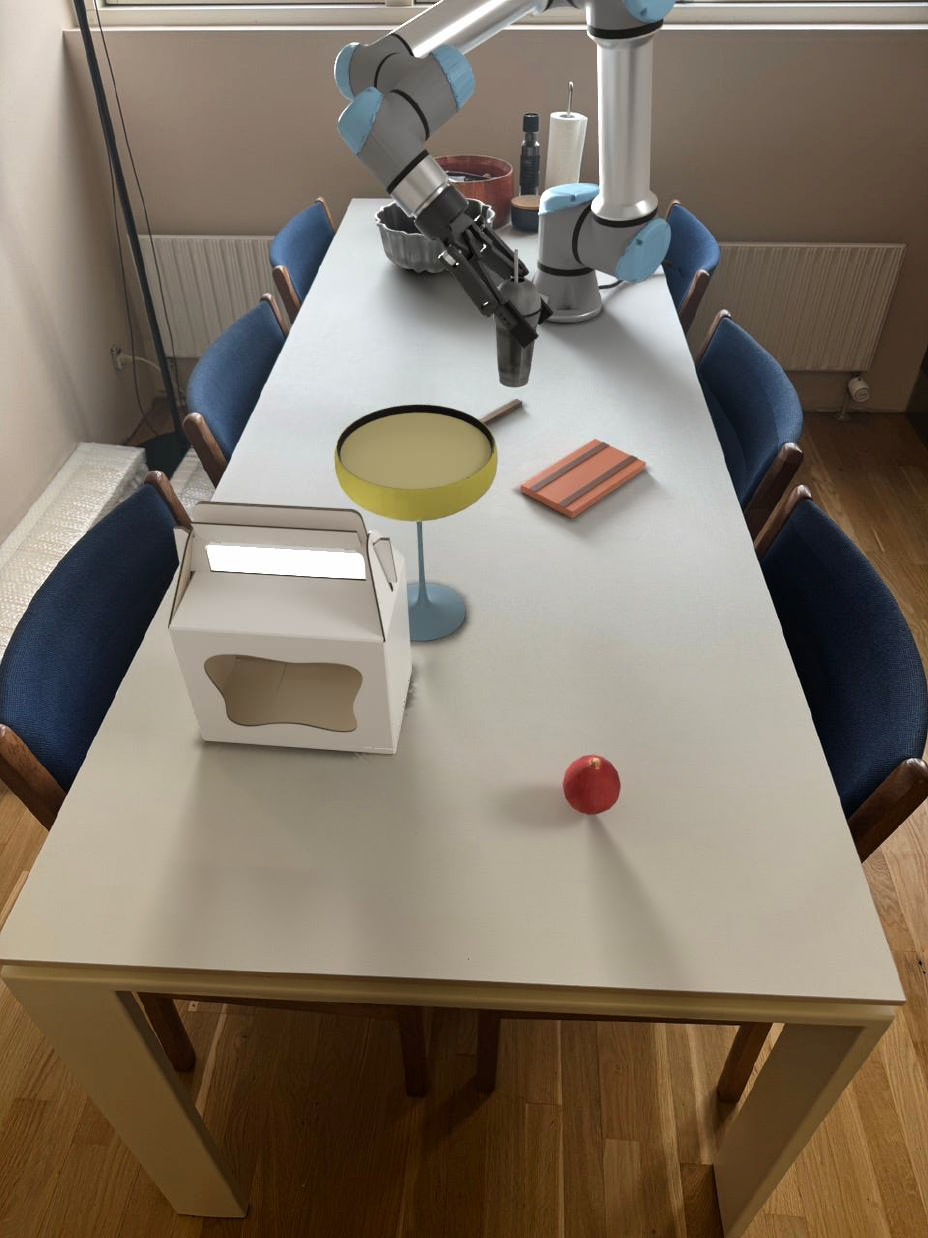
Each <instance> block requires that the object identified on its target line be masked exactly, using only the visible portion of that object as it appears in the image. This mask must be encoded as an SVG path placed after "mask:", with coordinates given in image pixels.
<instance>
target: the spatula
mask: <svg viewBox="0 0 928 1238" xmlns="http://www.w3.org/2000/svg"><path fill="white" fill-rule="evenodd" d="M522 406H523V401H522V400H520V399H518V398H515V399H513V400H511V401H509V402H508V403H505V404H504V405H502V406H500V407H499V408H496V409H494V410H493V411H491V412H489V413H487V414H486V415H483V416H482V417H480V418H477V419H478V420H480V421H481V422H482V423H484V424H485V425H486V426H487V425H489V424H491V423H493V422H495V421H496V420H497V421H498V419H500V418H503V417H504V416H505V415H508V414H509V413H511V412H513V411H515V410H517V409H519V408H520V407H522Z"/></svg>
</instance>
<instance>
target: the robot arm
mask: <svg viewBox="0 0 928 1238" xmlns="http://www.w3.org/2000/svg"><path fill="white" fill-rule="evenodd" d="M676 2H677V0H439V2H437V3H435V4H433V5H432V6H431V7H429V8H427V9H425V10H424V11H423V12H421V13H420V14H417V15H416V16H414V17H413V18H411V19H410V20H408V21H407V22H405V23H403V24H402V25H400V26H399V27H397V28H396V29H394V30H392V31H391V32H389V33H388V34H386V35H384V36H382V37H381V38H379V39H377V40H376V41H373V43H367V42H363V41H362V42H351V43H349V44H347V45H345V46H344V47H343V48H342V49H341V50H340V52H339V53H338V55H337V57H336V60H335V64H334V79H335V84H336V86H337V89H338V91H339V92H340V94H341V95H342V96H343V97H344V98H345V99H347V100H349V101H350V103H348V105H347V106H346V107H345V109H344V110H343V112H342V113H341V115H340V116H339V118H338V120H337V124H336V126H337V127H336V128H337V129H336V130H337V132H338V134H339V135H340V137H341V138H342V139H343V142H344V143H345V144H346V146H347V147H348V148H349V150H350V151H351V152H352V153H353V156H354V157H355V158H356V159H358V160H359V161H360V163H362V165H363V166H364V167H365V168H366V169H367V171H368V172H370V174H372V176H373V177H374V178H375V179H376V181H378V183H379V184H380V185H381V186H382V187H383V189H384V190H385V191H386V193H387V194H388V195H390V197H391V198H392V200H394V202H395V201H396V205H397V206H398V207H401V209H402V210H403V211H404V212H405V213H406V214H407V216H408V217H412V216H414V217H415V218H416V220H415V221H414V222H415V224H414V225H415V226H416V227H417V228H418V229H419V230H420V232H421V233H422V234H423V235H424V236H425V238H426V239H427V240H428V241H430V242H433V241H434V240H435V239H436V238H438V239H439V240H440V242H441V243H442V245H443V247H444V249H445V251H444V253H443V254H442V255H441V256H439V261H440V262H441V263H442V264H443V265H444V266H445V267H446V268H447V269H448V270H449V271H450V272H449V273H451V275H452V276H453V278H454V279H455V280H456V281H457V282H458V284H459V286H460V287H461V288H462V289H463V291H464V292H465V293H466V295H467V296H468V298H469V299H470V300H471V301H472V303H473V304H474V305H475V307H476V308H477V309H478V311H479V312H480V314H481V315H483V316H485V317H486V318H490V317H491V316H493V313H494V314H495V315H496V316H497V318H498V319H499V320H500V321H501V322H502V323H503V325H504V326H505V327H506V328H507V329H508V331H509V332H510V333H511V334H512V335H513V337H514V338H515V339H516V340H517V341H518V342H519V344H520V345H521V346H522V347H523V348H525V347H527V346H528V345H529V344H530V343H532V342H533V341H534V340H535V341H536V340H537V339H538V338H539V336H540V335H539V334H538V333H537V331H536V332H535V330H534V329H533V328H532V327H531V326H530V324H529V323H528V322H527V321H526V320H525V318H524V317H523V316H522V315H521V314H520V312H519V311H518V310H517V309H516V308H515V306H514V305H513V304H512V303H511V302H510V300H508V301H507V302H505V300H504V298H503V297H502V295H501V293H500V291H499V290H498V286H497V285H496V283H495V281H494V279H493V277H492V276H491V274H490V272H489V270H491V271H492V272H493V273H494V274H496V275H497V276H498V277H499V278H500V279H502V280H503V282H504V281H505V280H507V279H509V278H512V277H514V251H513V250H512V249H511V248H510V247H509V246H508V244H507V243H506V241H504V240H503V239H502V238H501V236H499V235H498V234H497V233H496V231H495V230H494V229H493V227H492V228H491V227H490V225H489V224H488V222H487V221H486V219H485V218H484V217H483V216H482V215H480V216H479V217H478V218H477V219H476V220H474V221H473V220H472V219H471V218H470V217H469V216H468V215H466V214H465V212H464V210H465V209H466V208H467V207H468V206H469V202H468V200H467V199H466V198H467V197H465V195H464V194H463V193H462V191H461V190H460V189H459V188H458V187H457V185H456V184H455V183H454V184H453V183H448V181H449V180H450V176H449V175H448V174H447V173H446V171H445V170H444V169H443V168H442V167H441V165H440V164H439V163H438V162H437V161H436V160H435V158H434V157H433V156H432V154H430V152H429V151H428V150H427V148H426V147H425V146H424V145H423V144H425V143H426V142H427V141H428V140H429V138H431V137H432V136H433V135H434V134H435V133H436V132H437V131H439V130H440V128H442V127H443V126H444V125H445V124H446V123H448V122H449V120H450V119H452V118H453V117H454V116H455V115H456V114H457V113H459V112H460V110H461V108H463V106H464V105H465V104H466V103H467V102H468V101H469V99H471V97H472V96H473V95H474V93H475V89H476V78H475V75H474V73H473V68H472V66H471V64H470V62H469V60H468V59H467V57H466V56H464V55H466V54H467V53H469V52H470V51H472V50H474V49H475V48H477V47H478V46H479V45H482V44H483V43H485V42H486V41H487V40H489V39H490V38H492V37H494V36H495V35H497V34H498V33H500V32H501V31H503V30H505V29H506V28H508V27H509V26H511V25H512V24H514V23H515V22H517V21H519V20H521V18H523V17H524V16H526V17H530V18H535V17H538V16H540V15H541V14H543V13H544V12H546V11H548V10H551V9H556V8H573V9H577V10H581V11H582V10H583V11H586V32H587V36H588V37H589V38H590V39H591V40H592V41H593V42H594V43H595V44H596V48H597V96H598V97H597V98H598V99H597V101H598V103H597V105H598V107H597V108H598V154H599V155H598V157H599V158H598V159H599V160H598V161H599V162H598V163H599V185H598V184H595V183H590V182H589V183H587V182H574V183H565V184H559V185H555V186H553V187H550V188H548V189H546V190H545V191H544V192H543V193H542V195H541V196H540V203H539V209H538V210H539V212H538V213H537V214H538V215H537V216H538V218H537V219H538V221H537V222H538V223H537V248H536V249H537V252H536V253H537V254H536V268H535V272H534V274H533V276H532V280H531V282H532V283H533V284H534V285H535V287H536V288H537V290H538V292H539V295H540V299H541V305H542V309H541V311H540V316H539V320H538V323H537V326H540V325H542V324H543V323H544V322H550V323H551V322H552V323H558V324H572V323H580V322H584V321H588V320H591V319H593V318H595V317H596V316H597V315H599V314H600V312H601V310H602V295H601V292H600V290H601V291H602V290H608V289H613V288H616V287H617V286H619V285H621V284H622V283H623V282H627V283H631V284H639V283H642V282H644V281H647V280H648V279H649V278H651V276H653V274H654V273H655V272H656V271H657V270H658V269H659V267H660V266H661V265H667V266H668V267H670V268H671V267H672V268H673V267H674V264H673V263H672V262H671V261H669V260H667V259H665V257H666V255H667V253H668V251H669V247H670V244H671V239H672V231H671V226H670V224H669V223H668V222H667V221H666V220H665V219H664V218H661V217H659V216H658V214H659V199H658V197H657V195H656V194H655V193H654V192H653V191H652V190H650V188H651V187H650V185H651V184H650V183H651V146H652V145H651V144H652V143H651V141H652V103H653V102H652V100H653V98H652V97H653V96H652V95H653V63H654V61H653V60H654V59H653V57H654V56H653V55H654V38H655V37H656V35H658V33H659V32H660V30H661V29H662V28H663V27H664V20H665V19H664V18H665V17H666V16H668V15H669V13H670V12H671V11H672V10H673V8H674V7H675V5H676ZM487 268H489V270H488V269H487ZM596 271H597V272H600V273H603V274H605V275H608V276H610V277H613V278H615V279H616V280H617V281H615V282H613V283H611V284H601V285H599V282H598V277H597V272H596ZM529 274H530V271H529V268H528V267H526V264H525V263H524V262H523V261H522V259H520V257H518V277H522V278H525V279H527V278H526V277H527V275H529Z"/></svg>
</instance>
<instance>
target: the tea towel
mask: <svg viewBox="0 0 928 1238" xmlns="http://www.w3.org/2000/svg"><path fill="white" fill-rule="evenodd" d="M646 465H647V461H644V460H642V459H640V458H638V456H635V455H632V454H630V453H627V452H625V451H623V450H621V449H618V448H616V447H614V446H611V445H610V444H609V443H607V442H604V441H601V440H598V439H596V438H594V439H592V440H590V441H589V442H588V443H586V444H584V445H583V446H581V447H579V448H578V449H576V450H575V451H573V452H571V453H569V454H568V455H566V456H565V457H564V458H561V459H560V460H559V461H557V462H555V463H554V464H552V465H551V466H548V467H547V468H546V469H544V470H542V471H541V472H539V473H538V474H536V475H534V476H532V477H531V478H530V479H528V480H526V481H525V482H523V483H522V484H520V492H521V493H523V494H525V495H527V496H529V497H530V498H533V499H534V500H536V501H538V502H540V503H542V504H544V505H545V506H548V507H549V508H551V509H553V510H555V511H557V512H559V513H561V514H562V515H564V516H567V517H568V518H569V519H574V518H575V517H577V516H578V515H579V514H581V513H582V512H584V511H586V510H587V509H588V508H590V507H592V506H593V505H594V504H595V503H597V502H599V501H600V500H601V499H603V498H605V497H607V496H608V495H609V494H611V493H612V492H614V491H615V490H617V489H618V488H620V487H621V486H622V485H624V484H625V483H626V482H629V480H631V479H632V478H634V477H635V476H637V475H638V474H640V473H641V472H643V471H644V470H645V469H646Z"/></svg>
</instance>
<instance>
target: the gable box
mask: <svg viewBox="0 0 928 1238" xmlns="http://www.w3.org/2000/svg"><path fill="white" fill-rule="evenodd" d="M192 513H193V514H192V516H193V521H190V525H191V526H190V529H188V528H187V527H185V526H184V525H174V527H173V534H174V540H175V546H176V551H177V552H176V553H177V558H178V562H179V572H178V577H177V581H176V585H175V586H176V587H175V590H174V595H173V601H172V604H171V610H170V615H169V618H168V625H167V630H168V633H169V637H170V640H171V642H172V645H173V649H174V653H175V655H176V658H177V659H176V660H177V662H178V664H179V668H180V671H181V674H182V678H183V681H184V684H185V687H186V690H187V694H188V697H189V700H190V703H191V707H192V710H193V713H194V715H195V719H196V722H197V725H198V728H199V732H200V734H201V738H202V739H203V740H204V741H207V742H220V743H232V744H245V745H246V744H247V745H248V744H249V745H260V746H273V747H290V748H299V749H300V748H301V749H302V748H303V749H315V750H331V751H341V752H354V753H355V752H357V753H370V754H382V755H383V754H384V755H395V754H396V753H397V750H398V749H397V748H398V744H399V738H400V734H401V728H402V722H403V717H404V712H405V707H406V702H407V698H408V697H407V696H408V692H409V687H410V681H411V676H412V670H413V668H412V667H413V666H412V649H411V640H410V632H409V616H408V601H407V586H408V585H407V572H406V571H407V570H406V569H407V568H406V558H405V557H404V556H403V554H401V552H399V551H398V550H397V549H396V548H395V547H394V546H393V545H392V543H391V537H385V536H383V535H382V533H380V532H379V531H378V530H377V529H376V528H373V529H370V530H369V531H368V530H367V527H366V524H365V520H364V518H363V516H362V514H361V513H360V511H358V510H356V509H354V508H344V507H343V508H341V507H323V506H322V507H321V506H306V505H305V506H303V505H286V504H269V503H268V504H266V503H265V504H264V503H248V502H247V503H246V502H229V501H211V500H200V501H198V502H196V503H195V505H194V507H193V509H192ZM210 543H217V544H221V543H227V544H228V543H229V544H244V545H245V544H247V545H261V546H263V545H264V546H265V545H266V546H282V547H297V548H298V547H301V548H314V549H315V548H316V549H317V548H318V549H333V550H334V549H335V550H344V551H356V553H347V552H346V553H345V552H329V551H313V550H312V551H311V550H294V549H293V550H292V549H280V548H279V549H278V548H277V549H275V548H261V547H260V548H258V547H243V546H241V547H240V546H227V545H226V546H225V545H209V544H210ZM408 680H409V681H408ZM404 701H405V702H404ZM403 706H404V707H403ZM402 711H403V712H402ZM401 716H402V717H401ZM400 721H401V722H400ZM399 726H400V727H399ZM398 731H399V733H398ZM397 736H398V738H397ZM396 741H397V743H396ZM336 745H337V746H336ZM346 746H350V747H346ZM351 746H354V747H351ZM395 746H396V748H395ZM360 747H372V748H360ZM374 748H388V749H390V748H392V749H393V748H395V749H394V750H387V749H374Z"/></svg>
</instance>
